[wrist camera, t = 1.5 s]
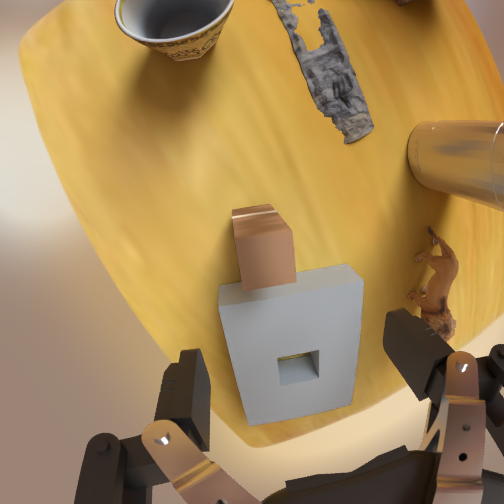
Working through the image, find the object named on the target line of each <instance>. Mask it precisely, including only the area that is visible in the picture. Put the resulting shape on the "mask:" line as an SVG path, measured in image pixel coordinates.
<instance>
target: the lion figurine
mask: <svg viewBox="0 0 504 504" xmlns="http://www.w3.org/2000/svg"><path fill="white" fill-rule="evenodd" d="M428 232H429V234H430V235H431V236H432V237H433V244H434V245H437V244H438V243H439V244H440V247H441V252H442V256H433V255H431V254H430V253H429V252H424V253H420V254H418V255H416V257H415V262H417V263H419V262H421V261H422V259H423V258H424V259H426V260H427V261H428V263H429V264H430V266H431V268H433V269H434V270H435V271H436V273H435V274H434V275H433V276H432V278H431V279H430V281H429V283H428V285H427V287H426V286H425V287H423V288H422V291H421V293H422V294H424V295H425V294H426V297H420V296H419V295H418V294H417V293H416V292H411V293H410V294H409V295H408V299H410V300H412V299H414V300H415V302H416V303H417V305H418V306H419V307H421V315H420V316H421V318H422V319H423V320H425V321H426V322H427V323H428V324H429V325H430V326H431V328H433V329H434V330H435V331H436V334H439V335H440V336H441V337H442V339H443V340H444V341H445V342H447V340H449V339H450V338H451V337H452V336H453V335H454V333H455V327H456V321H455V320H454V319H453V317H452V315H451V313H450V310H449V309H448V307H447V297H448V293H449V289H450V286H451V284H452V282H453V280H454V279H455V277H456V275H457V273H458V260H457V259H456V256H455V254H454V252H453V251H452V249H451V248H450V247H449V246H448V245H447V244H446V243H445V241H444V240H442V239H441V238H440V237H438V236H436V235H435V234H434V233H433V231H432V230H431V228H430V226H428Z"/></svg>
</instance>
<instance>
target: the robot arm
mask: <svg viewBox="0 0 504 504" xmlns="http://www.w3.org/2000/svg"><path fill="white" fill-rule="evenodd" d="M408 161H409V165H410V168H411V171H412V173H413V175H414V177H415V178H416V179H417V181H418V182H419V183H420V184H422V185H423V186H425V187H427V188H430V189H433V190H437V191H441V192H444V193H447V194H450V195H454V196H457V197H460V198H464V199H467V200H470V201H473V202H476V203H479V204H482V205H485V206H488V207H491V208H494V209H496V210H499V211H502V212H504V121H479V120H457V121H428V122H423V123H421V124H419V125H418V126H417V127H416V128H415V129H414V130H413V132H412V134H411V136H410V139H409V143H408ZM383 347H384V350H385V352H386V354H387V355H388V356H389V358H390V359H391V361H392V362H393V363H394V365H395V366H396V368H397V369H398V371H399V372H400V373H401V375H402V376H403V378H404V379H405V381H406V382H407V384H408V385H409V387H410V388H411V389H412V391H413V392H414V394H415V395H416V397H417V398H418V400H419V401H422V400H423V399H426V398H428V397H429V398H430V400H431V401H430V404H429V408H428V414H427V420H426V425H425V430H424V435H423V439H422V442H421V445H420V447H419V449H418V450H413V451H408V450H407V448H406V446H405V445H403V446H401V447H399V448H396V449H394V450H392V451H389V452H387V453H384V454H381V455H379V456H377V457H376V458H374V459H372V460H371V461H369V462H368V463H366V464H365V465H363V466H361V467H359V468H358V469H356V470H354V471H352V472H348V473H335V474H316V475H313V476H308V477H304V478H298V479H293V480H288V481H285V482H286V488H284V489H281V490H279V491H277V492H275V493H273V494H271V495H270V496H268V497H267V498H265V499H264V500H263V501H262V502H260V501H259V500H257V499H256V498H255V497H254V496H252V495H251V494H250V493H249V492H248V491H246V490H245V489H244V488H243V487H242V486H241V485H239V484H238V483H237V482H236V481H235V480H234V479H233V478H232V477H231V476H229V475H228V474H227V473H226V472H225V471H224V470H223V469H222V468H221V467H220V466H219V465H217V464H216V463H215V462H212V461H210V460H209V459H208V458H207V457H206V456H205V455H204V454H203V453H202V452H204V451H209V438H210V437H209V435H210V393H211V386H210V378H209V374H208V371H207V368H206V365H205V362H204V359H203V356H202V353H201V350H200V349H199V348H198V349H189V350H182V351H181V353H180V358H179V363H171V364H170V365H169V367H168V368H167V369H166V371H165V372H164V375H163V380H162V384H161V389H160V390H161V392H160V394H159V398H158V403H157V408H156V413H155V419H154V422H152V423H150V424H149V425H148V426H147V427H146V428H145V429H144V430H143V433H142V434H141V435H138V436H135V437H131V438H127V439H122V440H118V438H117V437H116V436H114V435H113V434H110V433H101V434H98V435H96V436H94V437H93V438H91V440H90V441H89V442H88V444H87V448H86V451H85V455H84V460H83V463H82V467H81V472H80V476H79V481H78V485H77V490H76V496H75V501H74V504H152V486H154V485H158V484H163V483H167V482H171V483H172V484H173V486H174V488H175V490H176V491H177V492H178V493H179V495H180V496H181V497H182V498H183V499H184V500H185V501H186V503H187V504H504V472H503V474H499V473H495V472H492V471H488V470H484V469H482V466H483V457H484V446H485V428H487V430H488V431H489V433H490V434H491V436H492V438H493V439H494V441H495V442H496V444H497V446H498V448H499V449H500V451H501V453H502V455H503V456H504V398H503V396H502V395H501V394H500V390H501V388H502V386H503V387H504V344H498V345H495V346H493V348H492V349H491V351H490V354H489V356H485V357H480V358H475V357H473V356H472V355H471V354H470V353H467V352H463V351H457V352H455V351H454V350H453V349H452V348H451V347H450V346H449V345H448V344H447V343H446V342H445V341H444V340H443V339H442V337H441V336H440V335H439V334H436V331H435V330H434V329H433V328H431V326H430V325H429V324H428V323H427V322H426V321H425V320H423V319H421V318H419V317H417V316H412V315H411V314H410V313H409V312H408V311H407V310H406V309H405V308H400V309H397V310H393V311H390V312H388V313H387V315H386V321H385V328H384V335H383Z"/></svg>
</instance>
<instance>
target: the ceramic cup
mask: <svg viewBox="0 0 504 504" xmlns="http://www.w3.org/2000/svg"><path fill="white" fill-rule="evenodd" d="M233 3H234V0H117V1H116V4H115V12H114V14H115V20H116V23H117V25H118V27H119V28H120V29H121V31H122V32H124V33H125V34H126V35H127V36H129V37H131V38H132V39H134V40H135V41H137V42H139V43H141V44H143V45H145V46H147V47H149V48H152V49H154V50H157V51H160V52H162V53H163V54H165V55H166V56H168V57H170V58H171V59H173V60H175V61H184V60H191V59H198V58H201V57H202V56H203V55H204V54H205V53H206V52H207V51H208V50H209V49H210V48H211V47H212V46H213V45H214V44H215V43H216V42H217V40H218V38H219V35H220V33H221V31H222V28H223V26H224V24H225V22H226V21H227V19H228V16H229V14H230V12H231V9H232V7H233Z"/></svg>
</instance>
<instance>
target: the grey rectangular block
mask: <svg viewBox="0 0 504 504" xmlns="http://www.w3.org/2000/svg"><path fill="white" fill-rule="evenodd" d="M296 279H297V282H296V283H290V284H284V285H279V286H273V287H267V288H261V289H255V290H249V291H243V287H242V282H237V283H231V284H225V285H219V296H218V309H219V313H220V317H221V322H222V326H223V330H224V334H225V338H226V342H227V346H228V350H229V354H230V358H231V362H232V366H233V370H234V374H235V378H236V382H237V385H238V389H239V393H240V397H241V400H242V404H243V407H244V411H245V415H246V418H247V422H248V425H249V426H253V425H260V424H267V423H273V422H279V421H284V420H289V419H294V418H299V417H304V416H309V415H313V414H317V413H321V412H325V411H329V410H333V409H337V408H340V407H344V406H348V405H351V402H352V396H353V390H354V383H355V376H356V369H357V361H358V352H359V343H360V332H361V320H362V306H363V287H364V280H363V279H362V278H361V277H360V276H359V275H358V274H357V273H356V272H355V271H354V270H353V269H352V268H351V267H350V266H349V265H348V264H342V265H336V266H331V267H325V268H320V269H314V270H309V271H303V272H297V273H296ZM306 352H310V355H307V356H303V357H298V358H293V359H288V360H282V361H277V358H281V357H286V356H291V355H296V354H301V353H306Z"/></svg>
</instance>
